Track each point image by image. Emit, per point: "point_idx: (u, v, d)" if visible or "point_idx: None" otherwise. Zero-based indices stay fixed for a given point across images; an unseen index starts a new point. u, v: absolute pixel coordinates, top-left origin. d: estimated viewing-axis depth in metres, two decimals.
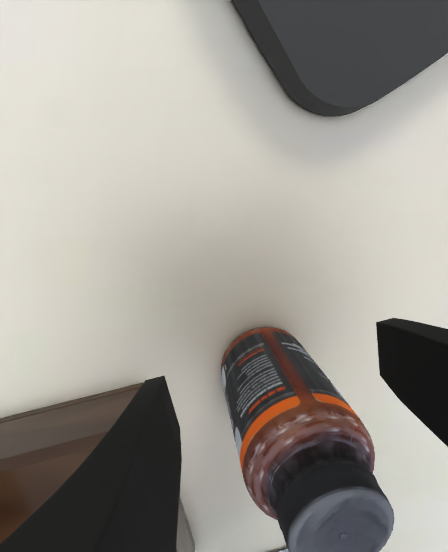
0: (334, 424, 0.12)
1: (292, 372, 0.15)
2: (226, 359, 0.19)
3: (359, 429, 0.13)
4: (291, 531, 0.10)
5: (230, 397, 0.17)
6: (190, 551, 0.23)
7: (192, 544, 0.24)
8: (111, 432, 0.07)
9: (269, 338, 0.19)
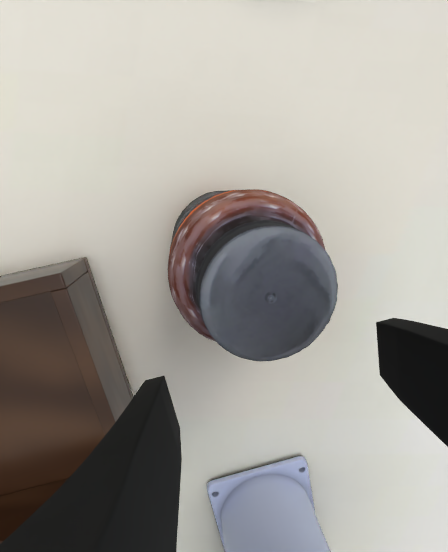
0: (272, 201, 0.10)
1: None
2: None
3: (305, 217, 0.10)
4: (203, 284, 0.08)
5: None
6: None
7: None
8: (111, 432, 0.07)
9: None
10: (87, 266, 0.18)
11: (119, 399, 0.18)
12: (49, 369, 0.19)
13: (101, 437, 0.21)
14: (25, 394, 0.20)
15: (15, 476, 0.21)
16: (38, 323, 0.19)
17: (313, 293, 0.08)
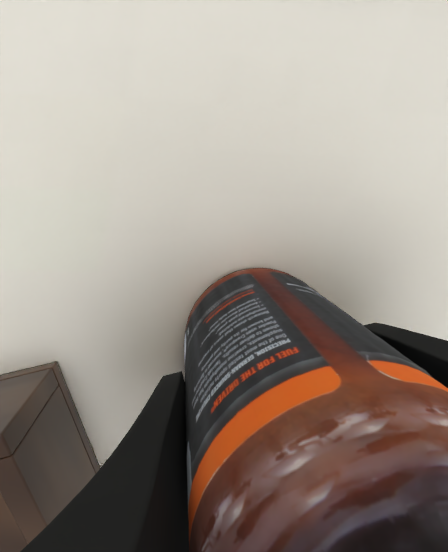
0: None
1: (312, 322, 0.07)
2: (190, 319, 0.11)
3: None
4: None
5: (187, 380, 0.09)
6: None
7: None
8: (136, 425, 0.07)
9: (264, 278, 0.10)
10: (58, 376, 0.12)
11: None
12: (6, 515, 0.13)
13: None
14: None
15: None
16: None
17: None
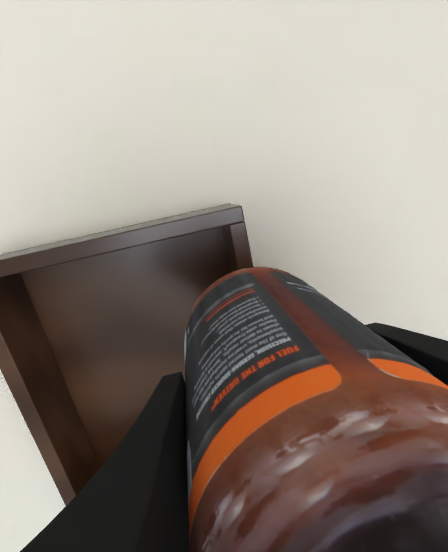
0: None
1: (312, 321, 0.07)
2: (190, 318, 0.11)
3: None
4: None
5: (187, 379, 0.09)
6: None
7: None
8: (136, 425, 0.07)
9: (264, 277, 0.10)
10: None
11: None
12: (187, 317, 0.20)
13: None
14: (161, 342, 0.20)
15: None
16: (181, 270, 0.19)
17: None
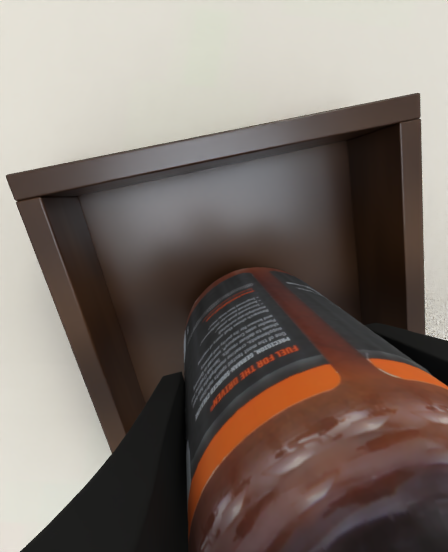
0: None
1: (311, 321, 0.07)
2: (190, 318, 0.11)
3: None
4: None
5: (187, 379, 0.09)
6: None
7: None
8: (136, 425, 0.07)
9: (264, 277, 0.10)
10: None
11: None
12: None
13: None
14: None
15: None
16: (290, 209, 0.14)
17: None
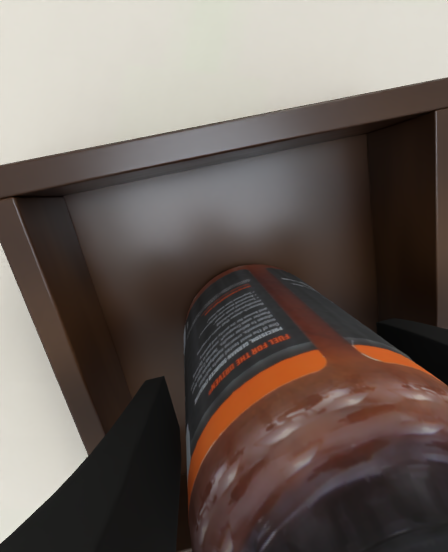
0: (424, 415, 0.05)
1: (303, 312, 0.07)
2: (190, 313, 0.12)
3: None
4: None
5: (186, 370, 0.09)
6: None
7: None
8: (111, 431, 0.07)
9: (260, 274, 0.11)
10: None
11: None
12: None
13: None
14: None
15: None
16: (302, 211, 0.13)
17: None
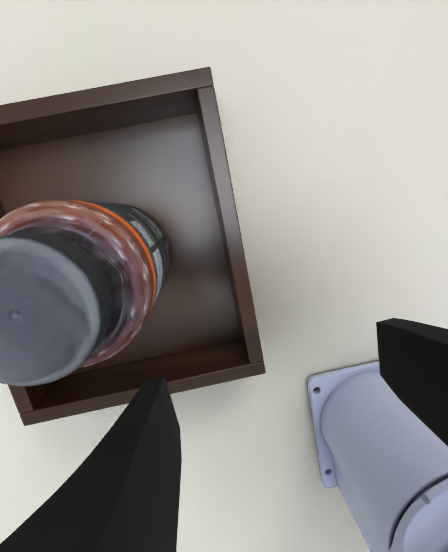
0: (69, 212, 0.09)
1: None
2: None
3: (112, 229, 0.10)
4: None
5: None
6: None
7: None
8: (111, 431, 0.07)
9: None
10: None
11: None
12: (160, 222, 0.18)
13: (204, 309, 0.20)
14: None
15: None
16: (155, 168, 0.18)
17: (65, 312, 0.08)
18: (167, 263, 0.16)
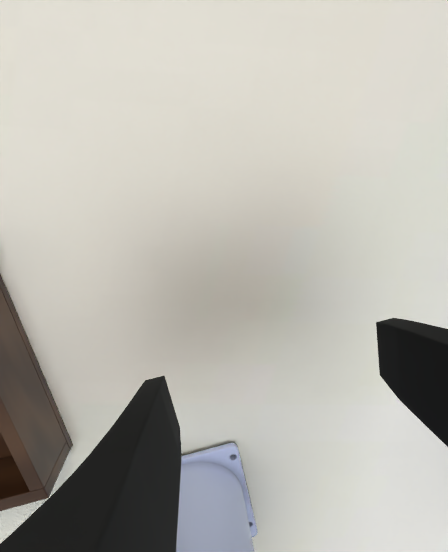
0: None
1: None
2: None
3: None
4: None
5: None
6: (55, 443, 0.19)
7: (65, 440, 0.21)
8: (111, 431, 0.07)
9: None
10: None
11: (16, 378, 0.17)
12: None
13: None
14: None
15: None
16: None
17: None
18: None
